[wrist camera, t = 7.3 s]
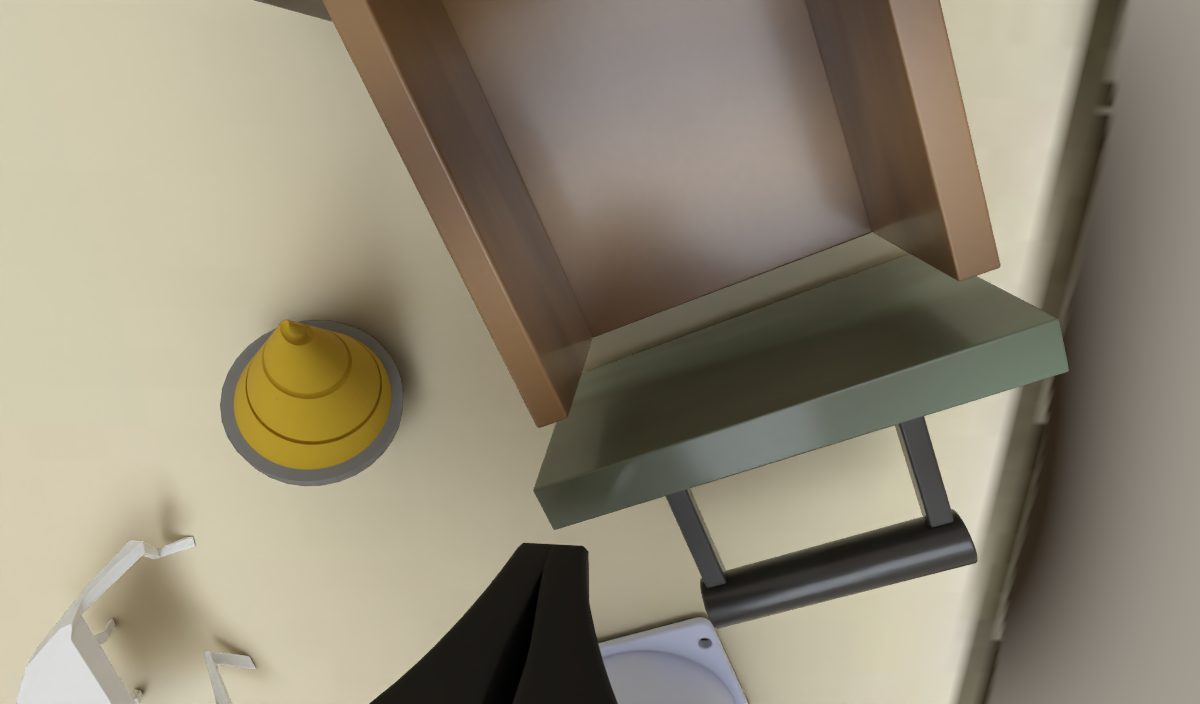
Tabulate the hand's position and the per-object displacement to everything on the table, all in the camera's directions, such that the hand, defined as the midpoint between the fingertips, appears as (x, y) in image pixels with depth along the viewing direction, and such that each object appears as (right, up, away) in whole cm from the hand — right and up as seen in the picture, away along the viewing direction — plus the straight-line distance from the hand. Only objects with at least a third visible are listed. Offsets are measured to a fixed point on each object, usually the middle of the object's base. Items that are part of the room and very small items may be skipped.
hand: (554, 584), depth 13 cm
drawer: (+4, +9, +6) cm, 11 cm away
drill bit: (-8, +5, +10) cm, 14 cm away
